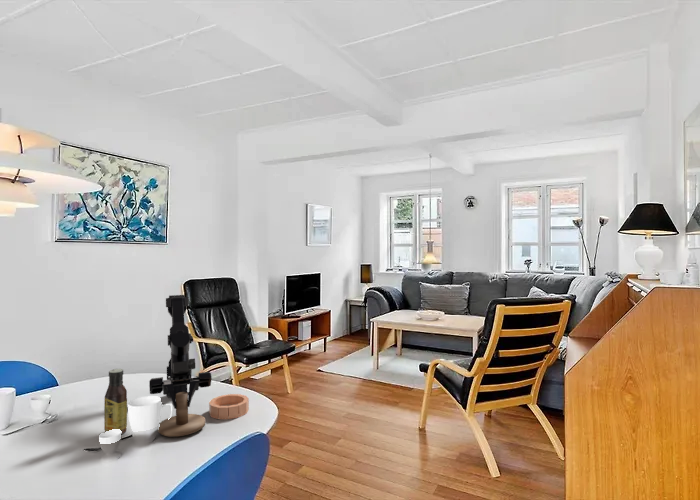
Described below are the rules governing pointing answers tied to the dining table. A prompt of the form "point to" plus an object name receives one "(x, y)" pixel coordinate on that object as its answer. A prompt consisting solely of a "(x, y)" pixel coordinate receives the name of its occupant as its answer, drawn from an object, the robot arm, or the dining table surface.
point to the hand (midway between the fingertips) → (182, 407)
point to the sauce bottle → (115, 402)
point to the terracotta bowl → (229, 406)
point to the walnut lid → (181, 419)
